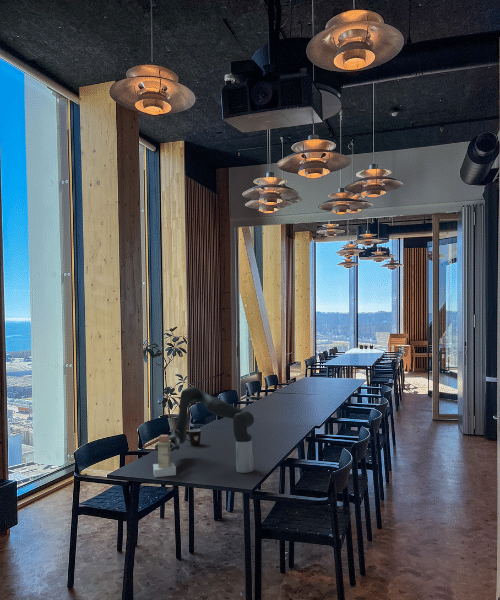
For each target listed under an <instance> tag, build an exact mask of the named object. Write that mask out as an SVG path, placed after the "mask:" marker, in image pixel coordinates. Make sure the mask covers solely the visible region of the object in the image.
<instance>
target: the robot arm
mask: <svg viewBox="0 0 500 600" xmlns="http://www.w3.org/2000/svg"><path fill="white" fill-rule="evenodd" d="M179 399H180V400H179V410H178V416H177V420H176V423H175V429H173V430H171V432H170V436H169V440H171V442H170V452H174V451H179V450H180V449H181V444H184V443H185V442H187V440H186V439H187V438H188V437H187V436H188V434H187V433H188V432H187V427H188V423H189V419H190V418H189V413H188V408H189V405H190V404H192V403H194V402H199V403H201V404H202V405H204V406H205V409H206V410H207V411H208V412H209V413H211V414H213V415H215V416H218V417H222V418H226V419H232V425H233V426H232V428H233V435H234V438H235V464H236V465H235V466H236V472H237V473H243V474H247V473H251V472H254V454H253V448H252V447H253V442H252V439H253V437H252V434H250V433H248V428H249V427H252V425H253V424H254V422H255V417H254V415H253V414H252V413H251V412H250V411H248V410H245V409H242V408H238V407H236V406H234V405H233V404H230V403H228V402H226V401H224V400H221V399H220V398H217V397H215V396H213V395H210V394H208V393H206V392H204V391H203V390H201V389H200V388H198V387H196V386H191V387H187V388H185V389H182V391H181V394H180V398H179ZM154 450H155V451H156V452H158V444H157V443H155V445H154Z"/></svg>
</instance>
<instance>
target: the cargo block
mask: <svg viewBox="0 0 500 600" xmlns="http://www.w3.org/2000/svg"><path fill="white" fill-rule="evenodd" d="M169 437H170V436H169V434H160V435H159V436H158V441H159V442H167V441H168V440H169Z"/></svg>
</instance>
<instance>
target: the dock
mask: <svg viewBox="0 0 500 600" xmlns="http://www.w3.org/2000/svg"><path fill="white" fill-rule="evenodd" d="M152 469H153V470H152V472H153V473H152V474H153V477H154V478H160V477H161V478H162V477H169V476H170V477H171V476H176V475H177V467H176V465H175V462H174V461H173V462H171V461H170V465H169V467H158V463H153V464H152Z"/></svg>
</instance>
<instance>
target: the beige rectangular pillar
mask: <svg viewBox="0 0 500 600" xmlns="http://www.w3.org/2000/svg"><path fill="white" fill-rule="evenodd" d="M170 442H171V440H168V441H167V442H159V440H158V441H157V442H156V444H158V451H157V464H158V467H169V465H170V463H171V451H170Z"/></svg>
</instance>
